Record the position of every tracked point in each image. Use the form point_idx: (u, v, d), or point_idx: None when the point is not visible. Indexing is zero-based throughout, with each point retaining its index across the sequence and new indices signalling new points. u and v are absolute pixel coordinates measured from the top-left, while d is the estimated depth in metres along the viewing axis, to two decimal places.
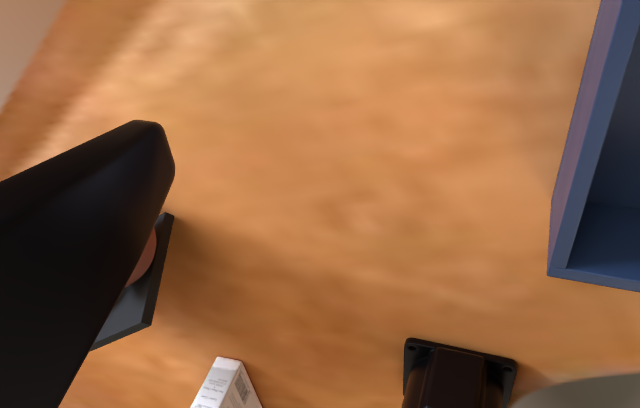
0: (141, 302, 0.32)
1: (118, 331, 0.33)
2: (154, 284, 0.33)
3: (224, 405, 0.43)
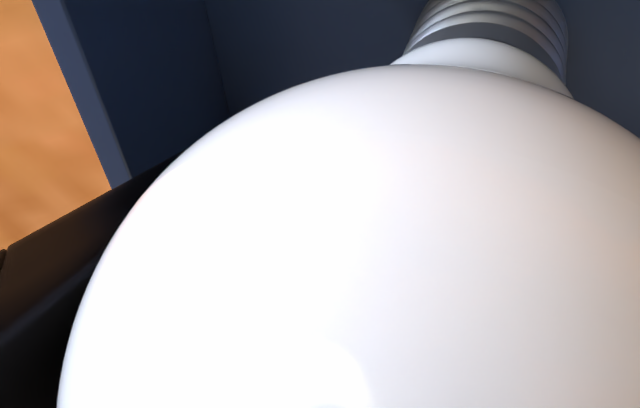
0: None
1: None
2: None
3: None
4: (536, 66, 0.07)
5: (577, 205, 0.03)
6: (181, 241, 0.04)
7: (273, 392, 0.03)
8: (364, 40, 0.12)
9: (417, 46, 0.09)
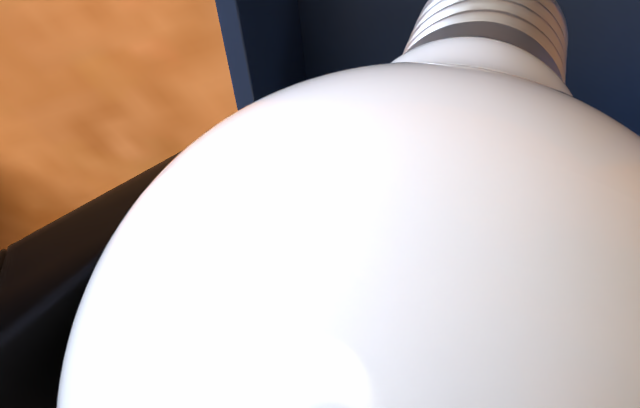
0: None
1: None
2: None
3: None
4: (536, 65, 0.07)
5: (576, 202, 0.03)
6: (182, 239, 0.04)
7: (275, 388, 0.03)
8: None
9: (417, 45, 0.09)
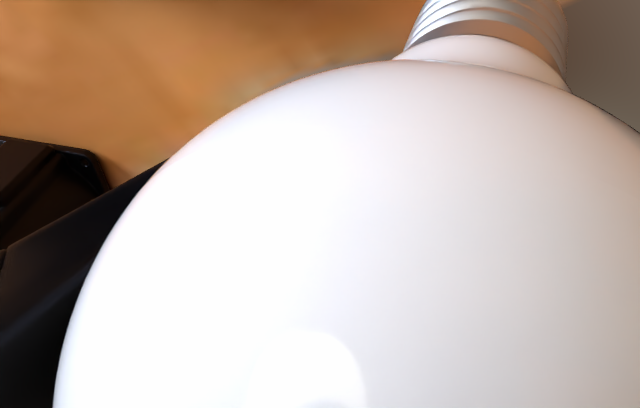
0: None
1: None
2: None
3: None
4: (536, 63, 0.07)
5: (576, 200, 0.03)
6: (178, 236, 0.04)
7: (273, 386, 0.03)
8: None
9: (416, 43, 0.09)
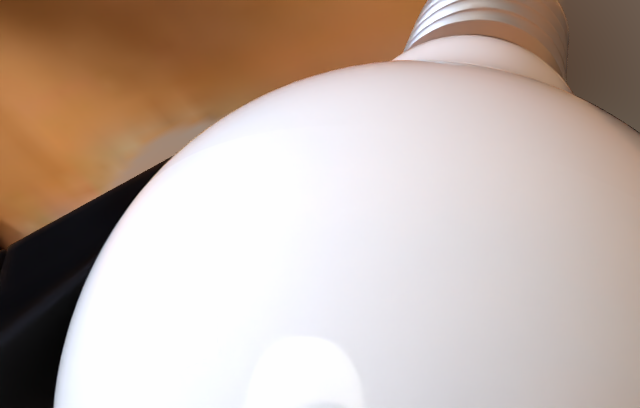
0: None
1: None
2: None
3: None
4: (537, 63, 0.07)
5: (577, 200, 0.03)
6: (179, 238, 0.04)
7: (273, 390, 0.03)
8: None
9: (417, 44, 0.09)
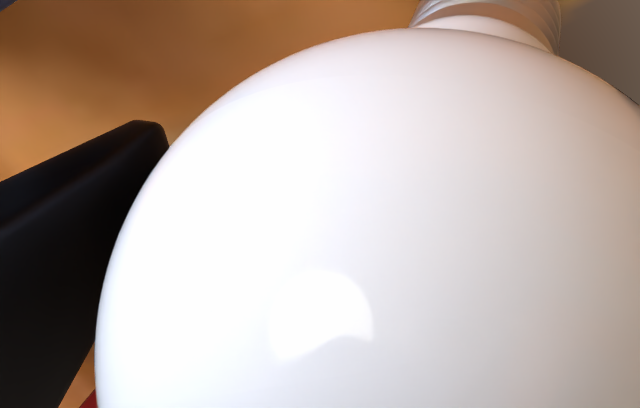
0: None
1: None
2: None
3: None
4: (529, 40, 0.08)
5: (558, 133, 0.04)
6: (214, 171, 0.04)
7: (298, 285, 0.04)
8: None
9: (418, 25, 0.10)
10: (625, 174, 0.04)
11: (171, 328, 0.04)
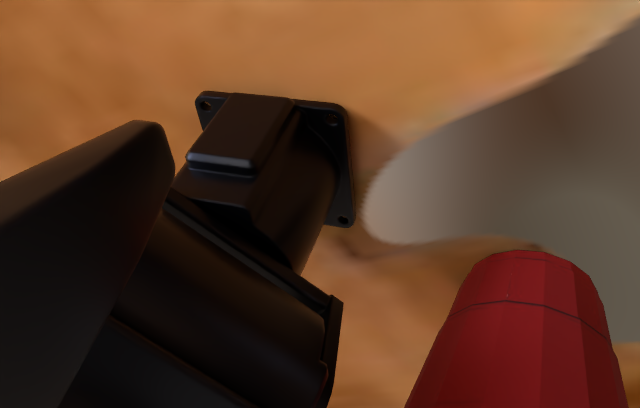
0: None
1: None
2: None
3: None
4: None
5: None
6: None
7: None
8: None
9: None
10: None
11: None
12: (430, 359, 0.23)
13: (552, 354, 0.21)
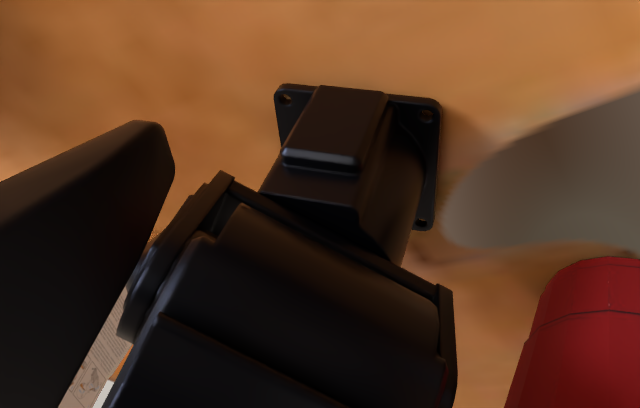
0: None
1: None
2: None
3: None
4: None
5: None
6: None
7: None
8: None
9: None
10: None
11: None
12: (528, 372, 0.22)
13: None
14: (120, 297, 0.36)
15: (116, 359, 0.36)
